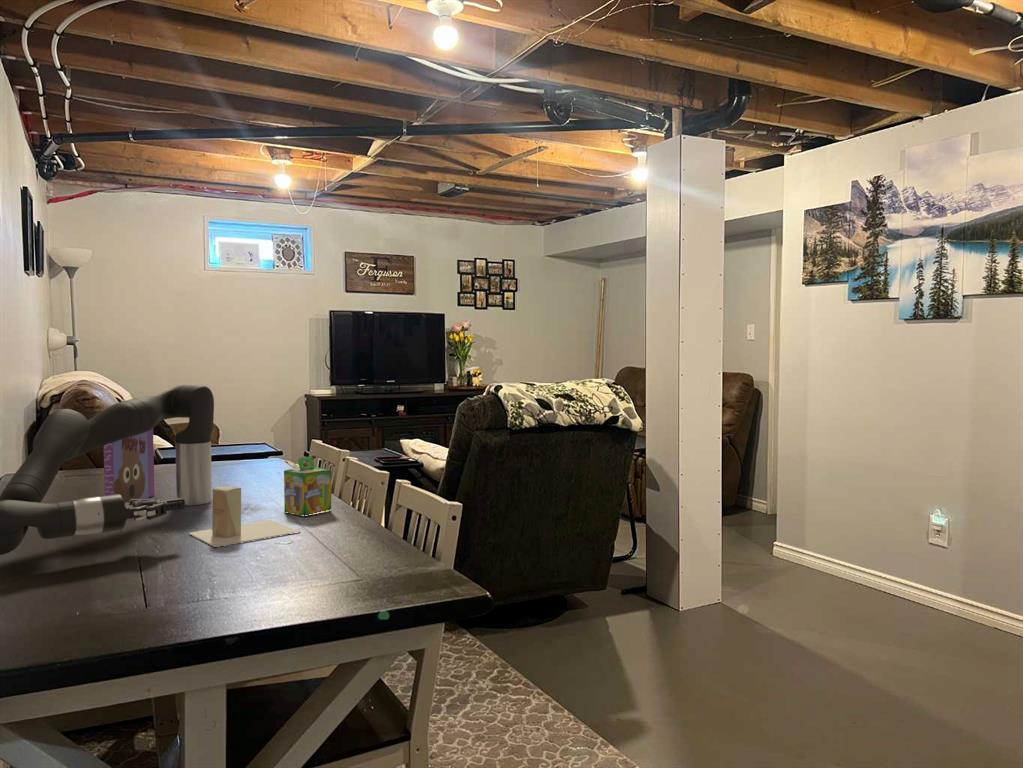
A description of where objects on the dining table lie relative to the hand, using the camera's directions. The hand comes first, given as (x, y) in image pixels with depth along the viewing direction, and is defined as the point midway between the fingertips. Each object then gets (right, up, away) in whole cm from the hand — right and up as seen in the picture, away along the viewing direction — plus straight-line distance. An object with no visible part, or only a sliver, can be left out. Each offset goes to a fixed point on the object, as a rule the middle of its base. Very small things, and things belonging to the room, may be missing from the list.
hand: (183, 503), depth 165 cm
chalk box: (+19, -8, +33) cm, 39 cm away
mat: (+10, -9, +10) cm, 17 cm away
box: (+7, -9, +7) cm, 13 cm away
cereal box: (-35, -7, +46) cm, 58 cm away
